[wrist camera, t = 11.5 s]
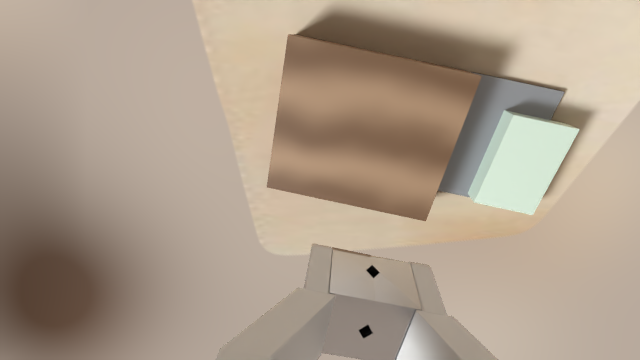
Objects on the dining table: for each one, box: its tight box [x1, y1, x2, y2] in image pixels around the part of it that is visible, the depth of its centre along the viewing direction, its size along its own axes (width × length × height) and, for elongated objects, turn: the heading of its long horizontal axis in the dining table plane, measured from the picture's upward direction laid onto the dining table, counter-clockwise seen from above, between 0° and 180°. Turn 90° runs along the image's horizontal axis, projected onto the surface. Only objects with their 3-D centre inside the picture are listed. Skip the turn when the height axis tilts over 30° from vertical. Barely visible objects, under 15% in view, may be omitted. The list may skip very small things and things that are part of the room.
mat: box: [438, 72, 564, 197], centre depth 32 cm, size 12×8×1 cm
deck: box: [267, 34, 482, 221], centre depth 31 cm, size 14×16×4 cm
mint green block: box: [468, 110, 580, 215], centre depth 32 cm, size 9×6×2 cm, turn 169°
